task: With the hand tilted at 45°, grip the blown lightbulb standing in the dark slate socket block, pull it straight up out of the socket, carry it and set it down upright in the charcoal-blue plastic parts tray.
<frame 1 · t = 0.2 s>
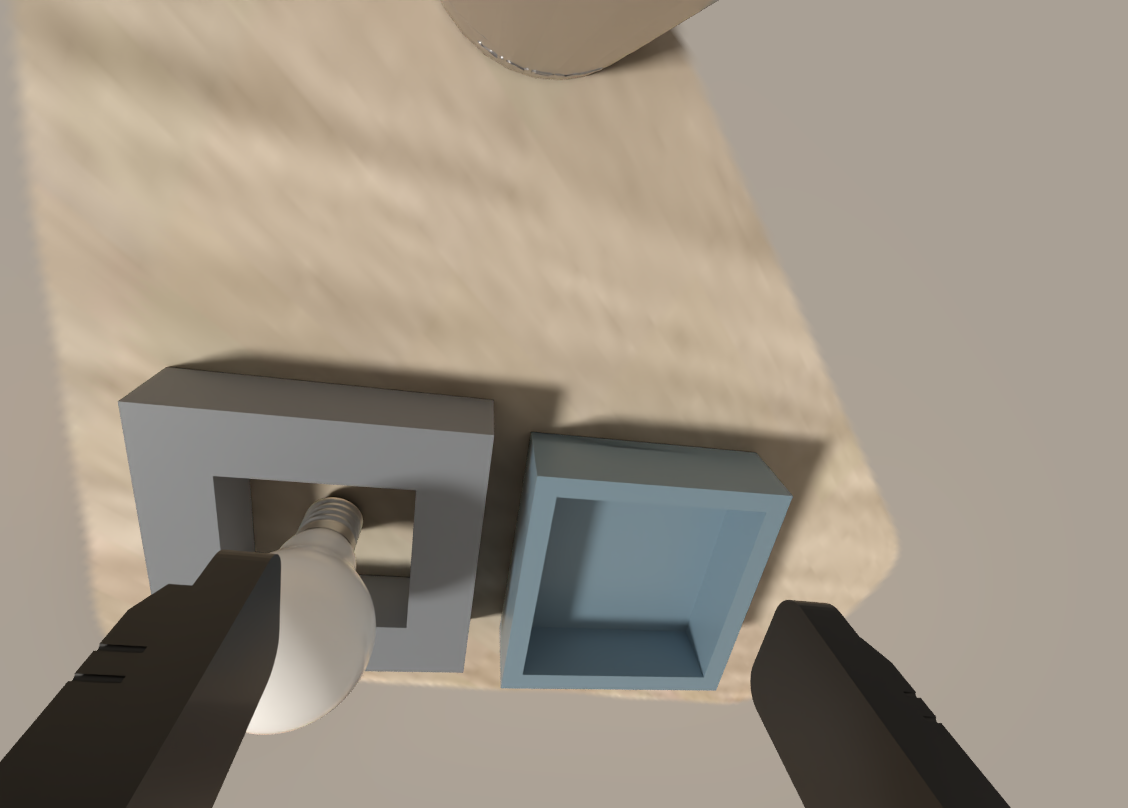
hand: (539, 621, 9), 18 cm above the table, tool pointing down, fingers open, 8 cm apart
socket block: (337, 512, 28), on the table
lightbulb: (338, 509, 28), resting in socket block
parts tray: (621, 544, 31), on the table
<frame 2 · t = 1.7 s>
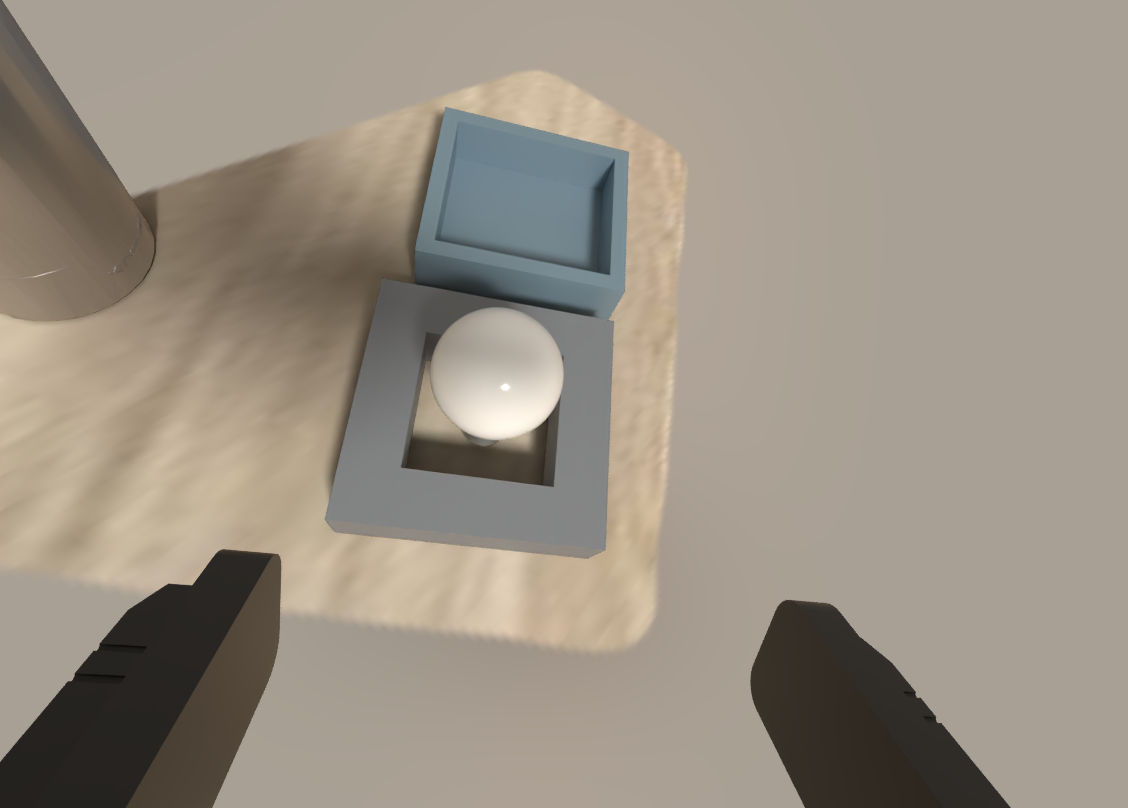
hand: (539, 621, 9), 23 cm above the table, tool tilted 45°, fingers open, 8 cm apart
socket block: (482, 428, 34), on the table
lightbulb: (481, 429, 34), resting in socket block
parts tray: (522, 235, 40), on the table
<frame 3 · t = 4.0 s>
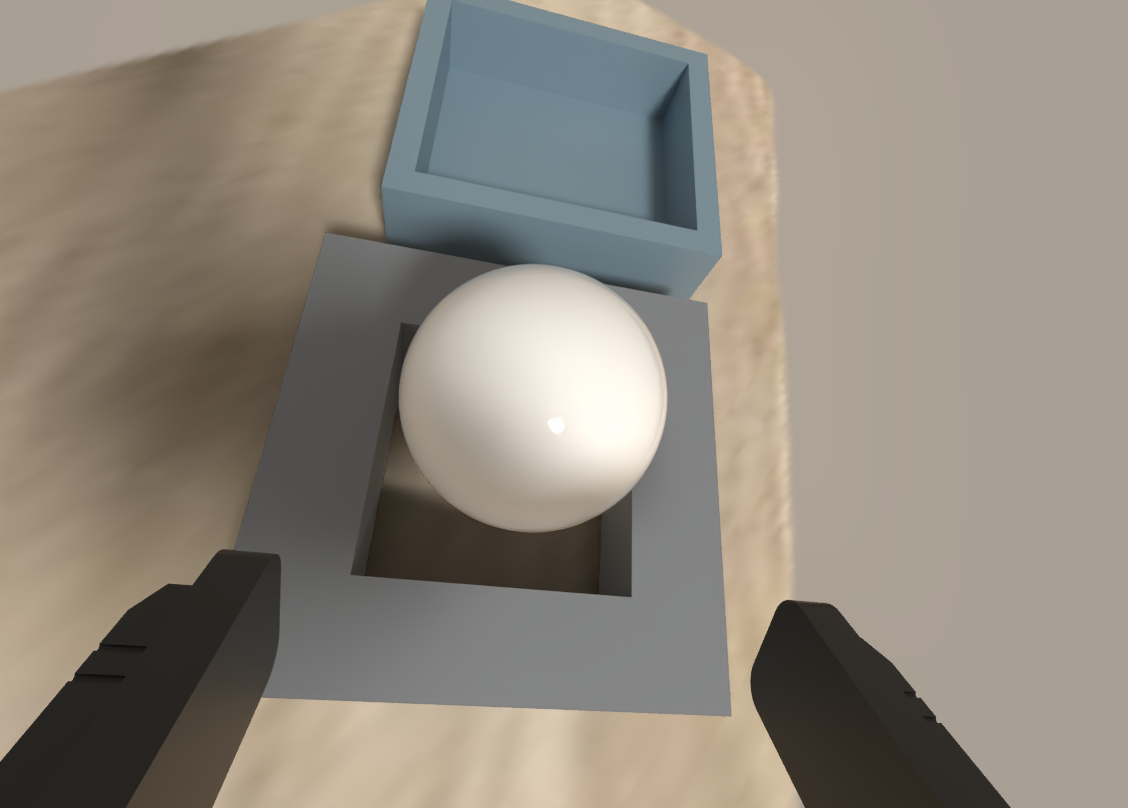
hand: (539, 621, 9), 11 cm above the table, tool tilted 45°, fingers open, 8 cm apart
socket block: (497, 481, 21), on the table
lightbulb: (496, 483, 21), resting in socket block
parts tray: (550, 181, 27), on the table
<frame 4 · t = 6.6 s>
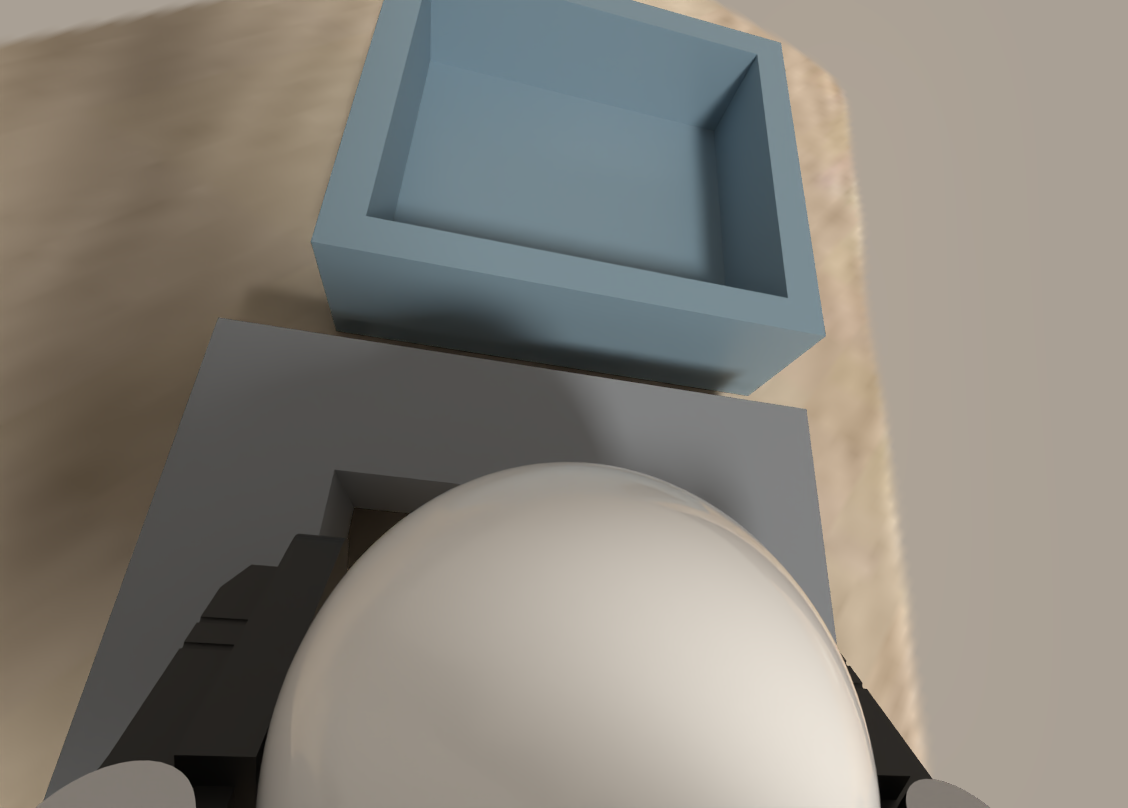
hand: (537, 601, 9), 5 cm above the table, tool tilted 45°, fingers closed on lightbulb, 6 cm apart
socket block: (492, 689, 14), on the table
lightbulb: (491, 688, 14), resting in socket block, touching gripper
parts tray: (566, 215, 20), on the table
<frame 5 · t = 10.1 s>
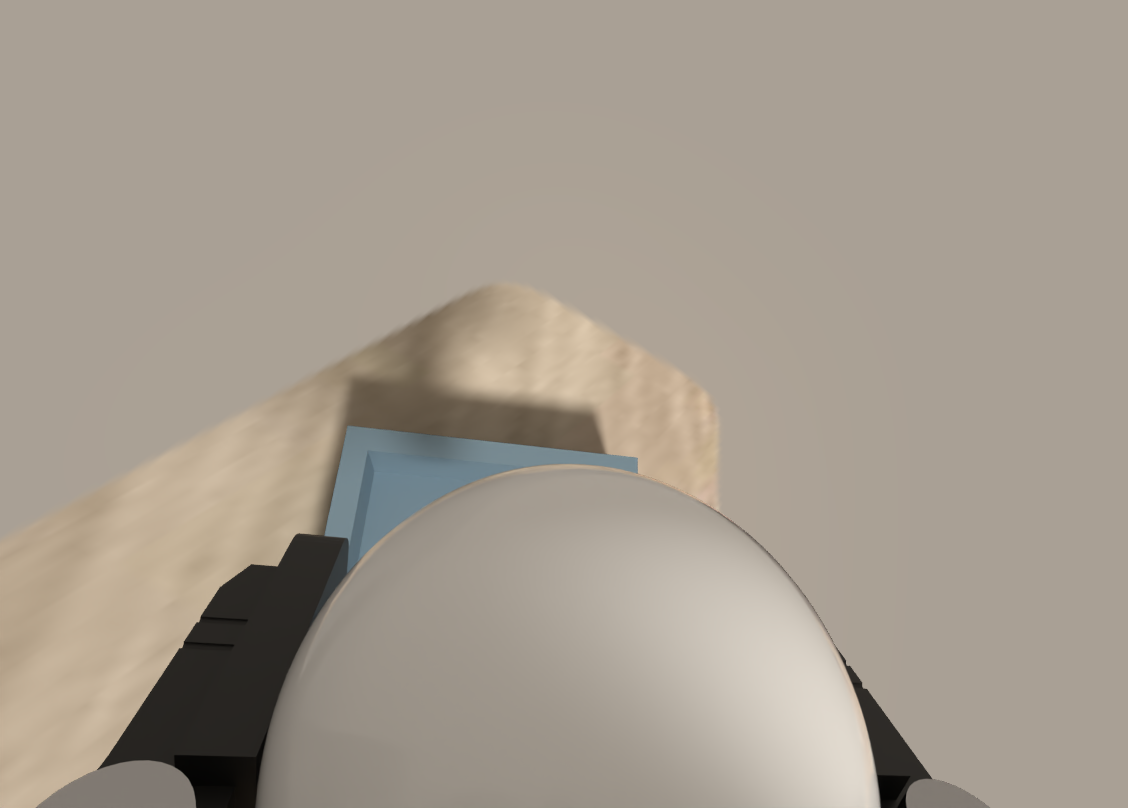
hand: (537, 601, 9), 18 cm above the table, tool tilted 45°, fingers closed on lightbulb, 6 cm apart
lightbulb: (490, 690, 14), point 12 cm above the table, touching gripper
parts tray: (478, 590, 26), on the table
when the fingers open (7 cm above the table, at t = 14.0 s): lightbulb drops 1 cm, resting on parts tray.
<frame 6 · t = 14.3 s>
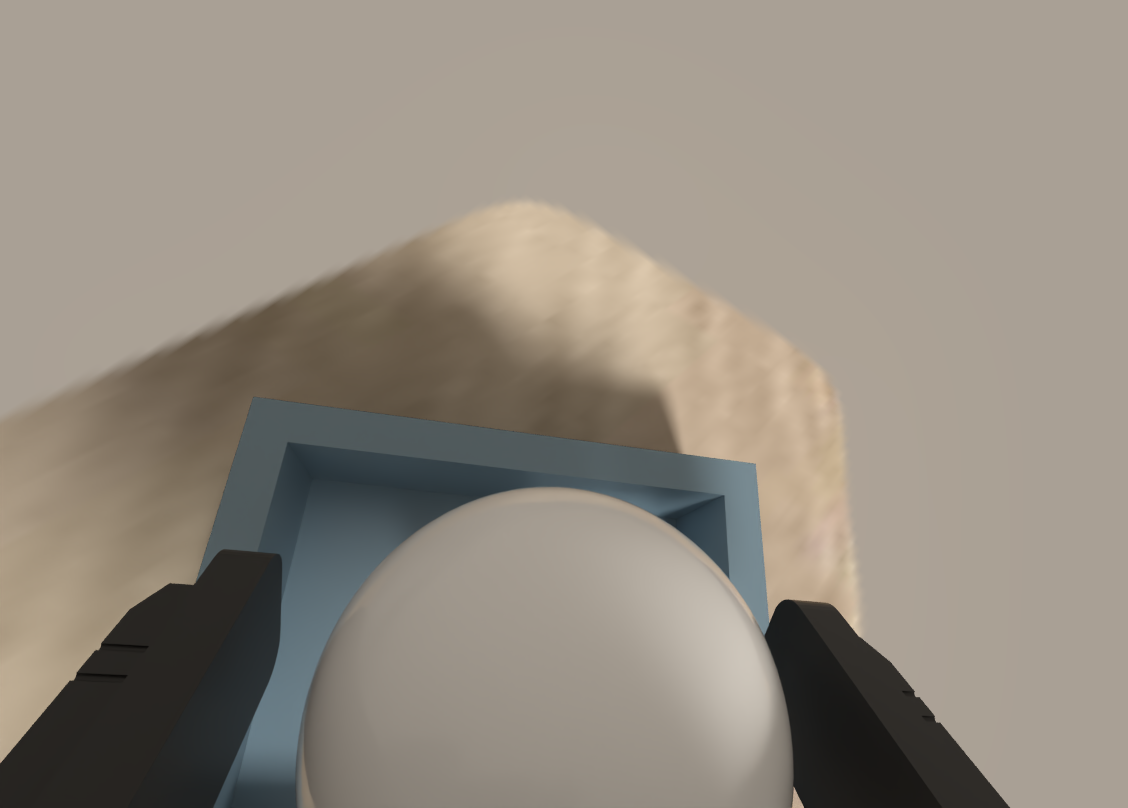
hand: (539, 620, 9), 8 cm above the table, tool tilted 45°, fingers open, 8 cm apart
lightbulb: (487, 695, 15), point 1 cm above the table, touching parts tray
parts tray: (483, 683, 16), on the table
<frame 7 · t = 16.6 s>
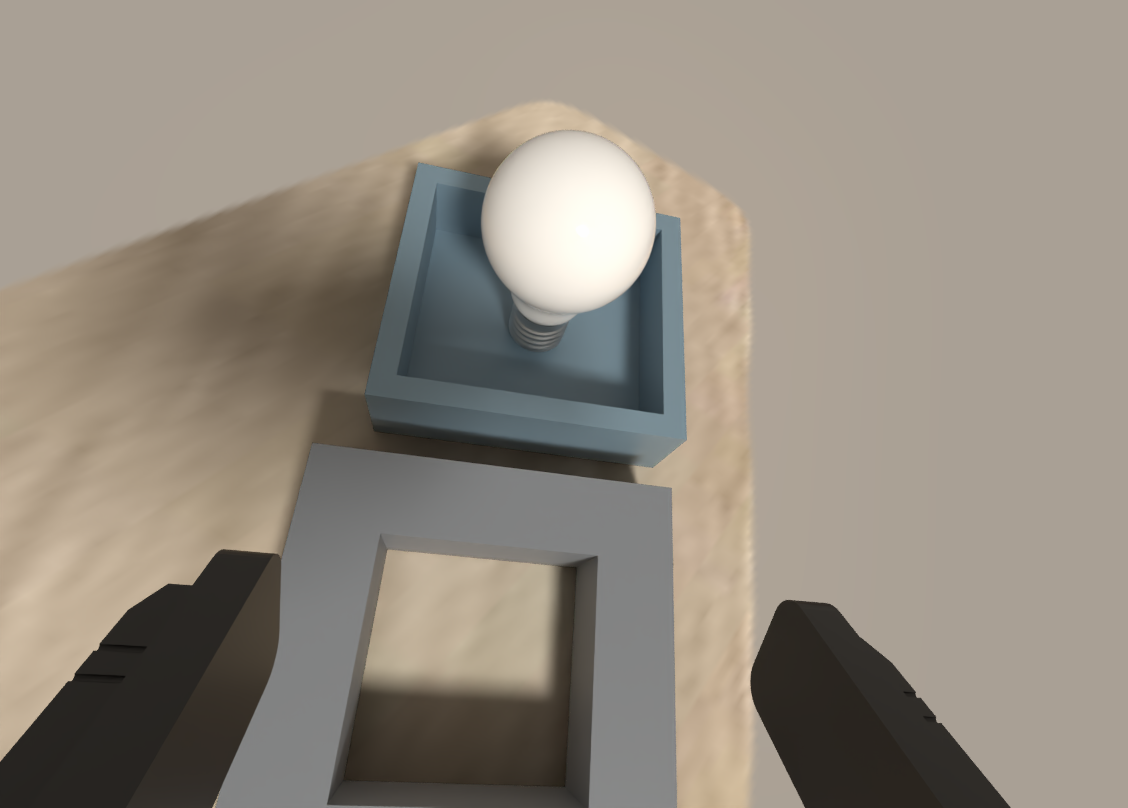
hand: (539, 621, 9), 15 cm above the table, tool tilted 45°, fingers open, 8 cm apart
socket block: (472, 662, 22), on the table
lightbulb: (533, 336, 28), point 1 cm above the table, touching parts tray
parts tray: (530, 338, 28), on the table
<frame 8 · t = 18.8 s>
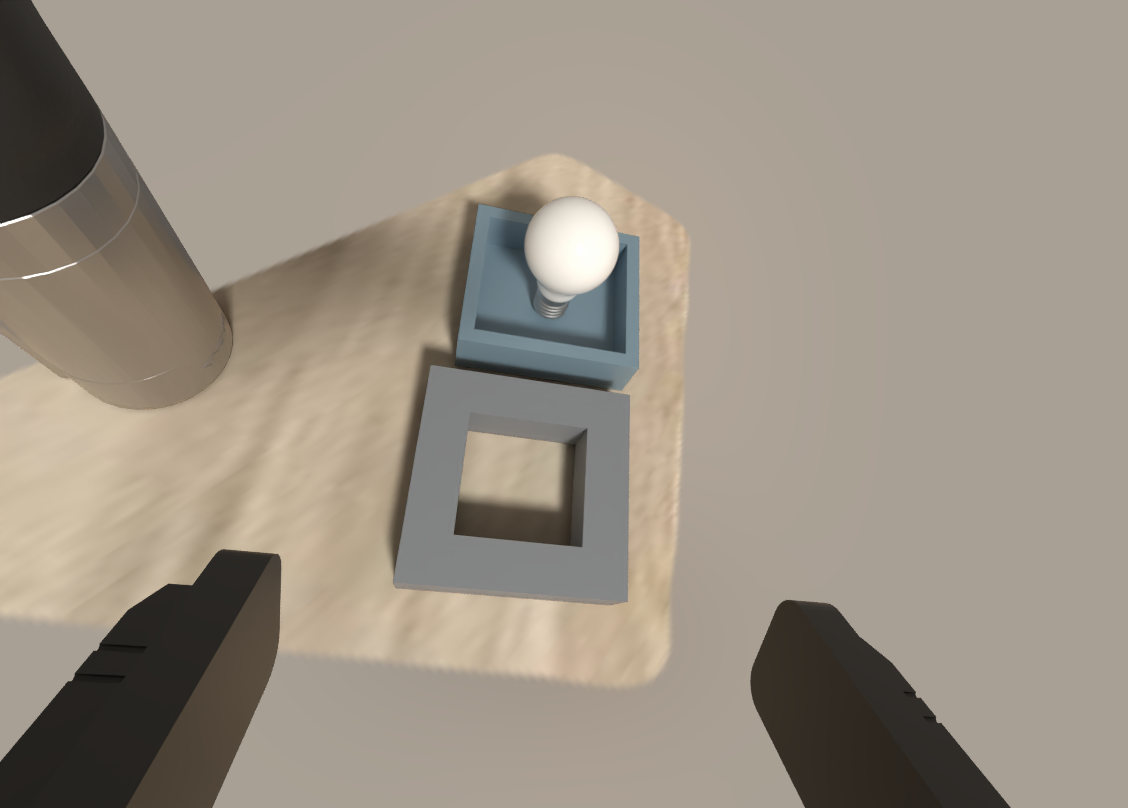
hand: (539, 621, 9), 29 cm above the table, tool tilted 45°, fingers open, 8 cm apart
socket block: (516, 491, 39), on the table
lightbulb: (548, 310, 45), point 1 cm above the table, touching parts tray
parts tray: (545, 312, 45), on the table
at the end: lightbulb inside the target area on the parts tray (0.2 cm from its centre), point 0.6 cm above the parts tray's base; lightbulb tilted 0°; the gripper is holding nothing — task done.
